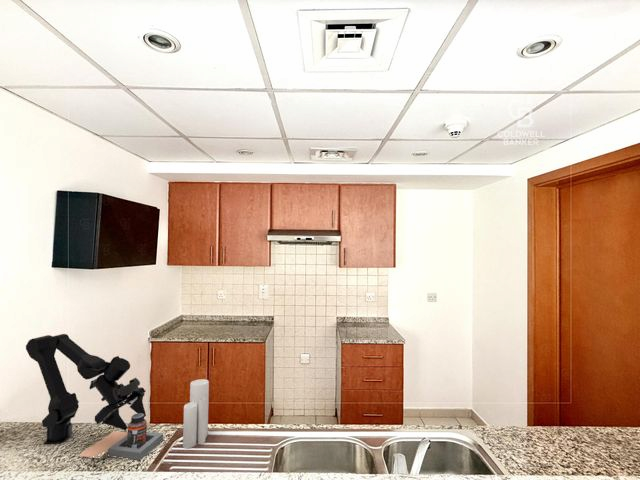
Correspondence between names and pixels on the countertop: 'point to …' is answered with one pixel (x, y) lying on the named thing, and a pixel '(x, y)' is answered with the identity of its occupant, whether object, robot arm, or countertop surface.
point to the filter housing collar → (135, 453)
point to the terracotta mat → (104, 444)
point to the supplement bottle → (137, 431)
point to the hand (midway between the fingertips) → (136, 422)
